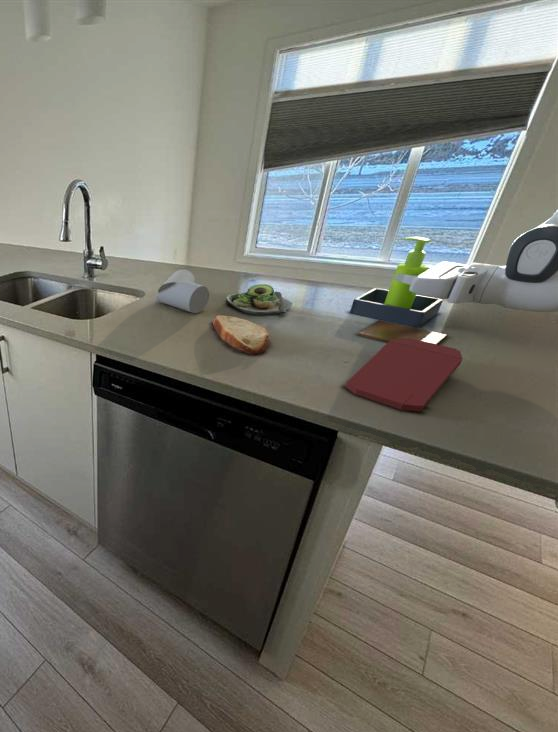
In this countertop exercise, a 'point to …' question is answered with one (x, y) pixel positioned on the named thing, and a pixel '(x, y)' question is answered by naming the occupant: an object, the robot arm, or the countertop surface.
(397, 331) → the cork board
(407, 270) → the soap dispenser
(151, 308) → the countertop surface
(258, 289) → the salad plate
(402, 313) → the dark blue tray
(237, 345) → the bread slice
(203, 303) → the elbow connector
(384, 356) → the maroon flat slab
